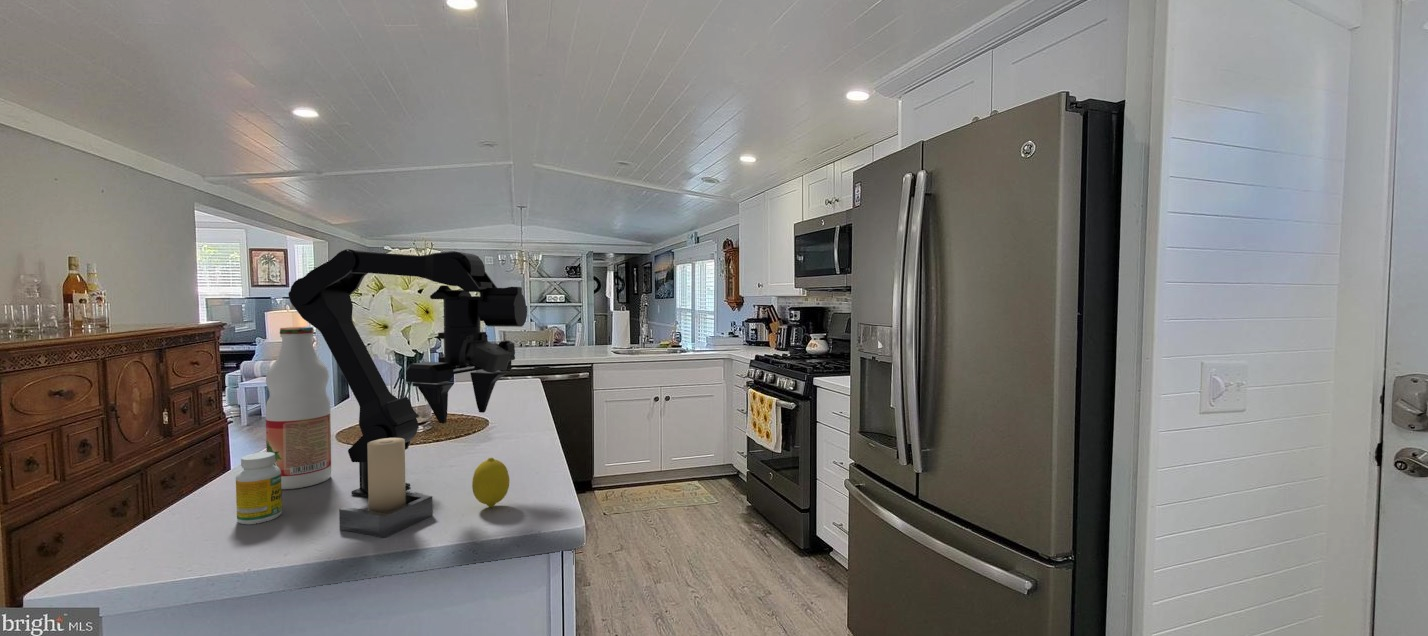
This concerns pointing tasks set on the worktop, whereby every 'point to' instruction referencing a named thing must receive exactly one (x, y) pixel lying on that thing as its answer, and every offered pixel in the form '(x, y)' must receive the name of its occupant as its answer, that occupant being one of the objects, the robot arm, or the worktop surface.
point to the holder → (386, 517)
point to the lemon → (490, 482)
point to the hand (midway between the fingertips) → (463, 417)
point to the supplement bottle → (258, 489)
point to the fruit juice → (299, 411)
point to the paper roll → (386, 474)
